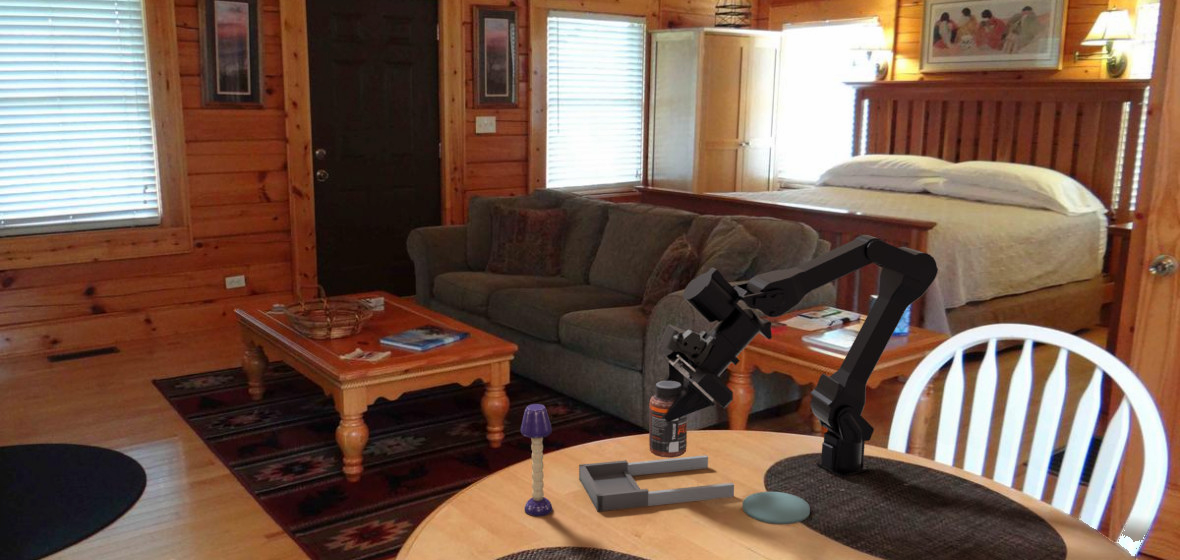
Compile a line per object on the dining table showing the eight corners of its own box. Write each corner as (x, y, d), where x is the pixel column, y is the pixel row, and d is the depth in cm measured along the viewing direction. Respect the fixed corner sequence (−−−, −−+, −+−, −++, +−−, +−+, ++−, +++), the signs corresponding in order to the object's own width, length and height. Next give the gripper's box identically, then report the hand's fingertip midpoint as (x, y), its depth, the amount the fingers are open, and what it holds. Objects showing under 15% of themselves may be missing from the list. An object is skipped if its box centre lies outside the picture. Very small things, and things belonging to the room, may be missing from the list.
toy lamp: (555, 516, 143) (554, 410, 139) (524, 519, 142) (522, 412, 138) (549, 502, 147) (548, 399, 144) (519, 505, 146) (517, 402, 143)
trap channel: (706, 466, 161) (706, 452, 160) (733, 496, 149) (734, 481, 149) (579, 479, 156) (579, 464, 155) (597, 511, 144) (597, 496, 144)
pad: (780, 490, 151) (780, 486, 151) (823, 514, 143) (823, 511, 143) (729, 503, 147) (729, 499, 147) (771, 529, 138) (771, 525, 138)
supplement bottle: (684, 460, 148) (685, 391, 146) (646, 457, 149) (646, 389, 147) (688, 446, 154) (689, 379, 152) (651, 443, 155) (652, 377, 153)
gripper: (673, 295, 157) (609, 364, 157) (714, 322, 139) (641, 401, 139) (718, 337, 160) (655, 406, 160) (763, 369, 142) (692, 446, 142)
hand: (659, 413), depth 150 cm, fingers closed on supplement bottle, 6 cm apart
